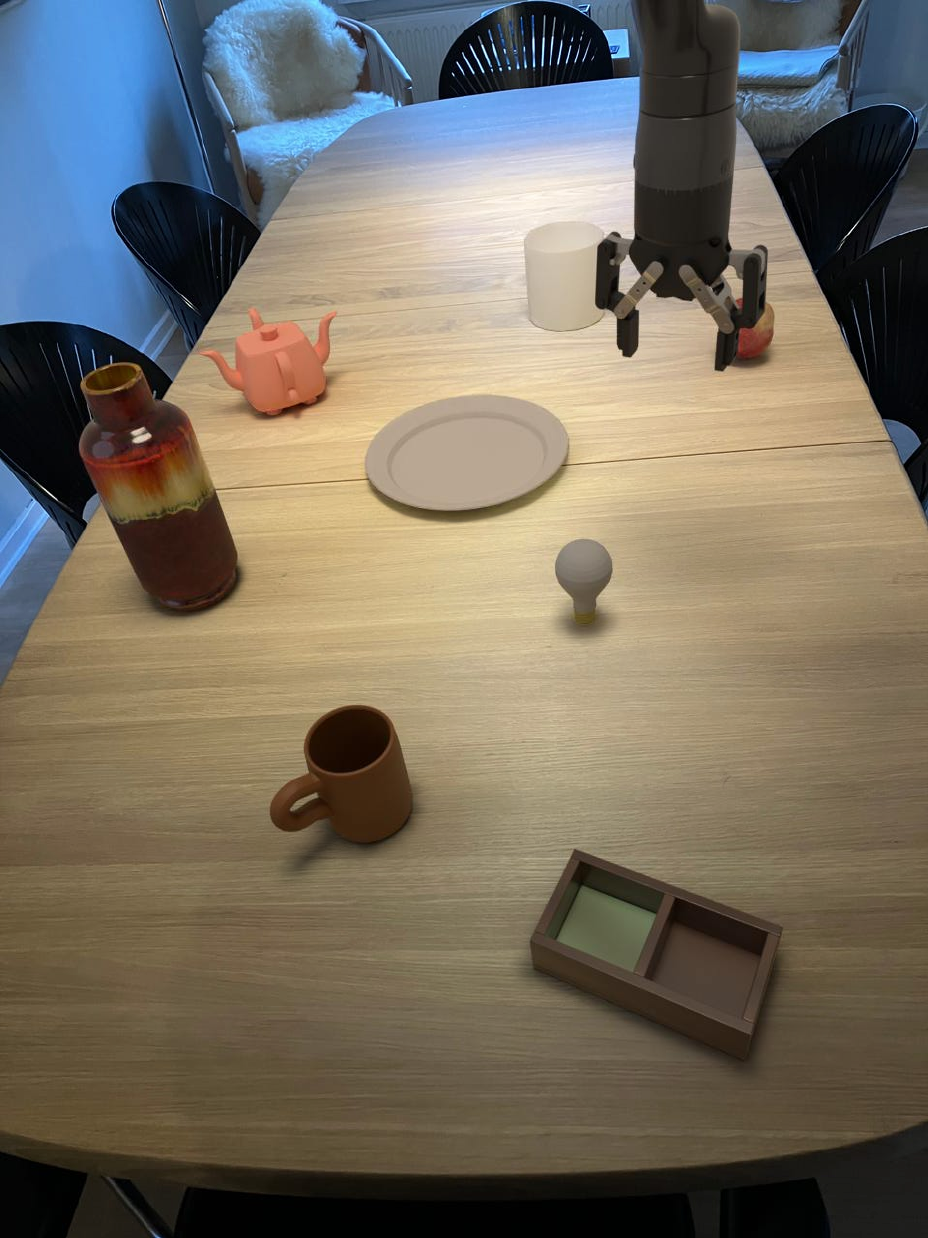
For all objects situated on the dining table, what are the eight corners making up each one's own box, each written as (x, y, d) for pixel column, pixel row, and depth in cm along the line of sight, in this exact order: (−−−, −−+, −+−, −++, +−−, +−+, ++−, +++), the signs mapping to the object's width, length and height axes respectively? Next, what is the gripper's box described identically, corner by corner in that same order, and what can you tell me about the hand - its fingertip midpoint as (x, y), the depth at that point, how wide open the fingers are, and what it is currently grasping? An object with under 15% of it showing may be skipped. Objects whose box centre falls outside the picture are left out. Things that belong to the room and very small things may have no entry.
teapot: (219, 419, 131) (195, 348, 124) (268, 370, 141) (248, 301, 133) (308, 429, 126) (289, 355, 119) (353, 377, 136) (337, 306, 128)
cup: (513, 318, 144) (507, 241, 136) (564, 290, 149) (561, 214, 141) (568, 338, 137) (565, 258, 129) (620, 309, 142) (620, 230, 134)
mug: (322, 899, 73) (293, 832, 67) (268, 844, 78) (236, 776, 71) (432, 805, 79) (416, 735, 72) (376, 758, 83) (356, 688, 77)
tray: (576, 877, 72) (574, 848, 69) (776, 955, 66) (783, 926, 63) (532, 968, 67) (529, 940, 64) (744, 1061, 61) (750, 1035, 58)
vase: (264, 579, 104) (191, 368, 86) (181, 633, 99) (86, 420, 81) (210, 542, 110) (132, 338, 92) (130, 591, 105) (30, 385, 87)
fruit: (762, 373, 124) (769, 317, 118) (706, 365, 127) (710, 309, 121) (779, 347, 128) (786, 291, 123) (725, 339, 131) (729, 285, 126)
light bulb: (617, 637, 91) (617, 559, 84) (562, 645, 91) (558, 567, 84) (607, 600, 95) (606, 523, 88) (554, 608, 95) (549, 531, 88)
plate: (433, 394, 129) (431, 381, 128) (602, 427, 118) (602, 413, 117) (327, 495, 114) (324, 481, 113) (509, 543, 103) (508, 529, 102)
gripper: (790, 156, 71) (767, 352, 82) (617, 147, 77) (617, 330, 88) (761, 192, 66) (740, 393, 77) (579, 179, 72) (584, 368, 83)
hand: (674, 360), depth 82 cm, fingers open, 8 cm apart
